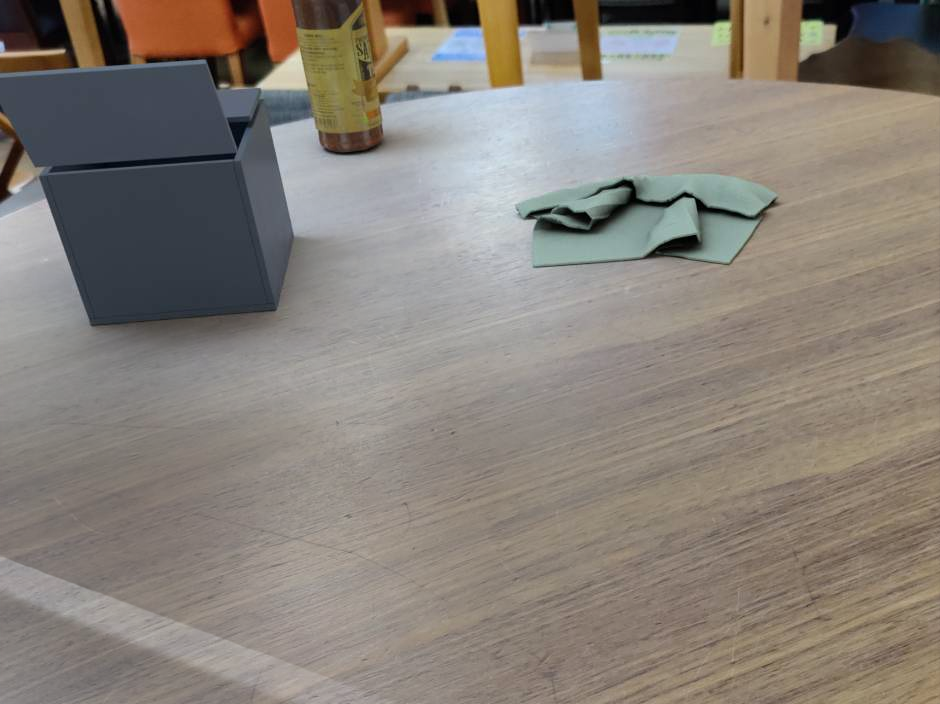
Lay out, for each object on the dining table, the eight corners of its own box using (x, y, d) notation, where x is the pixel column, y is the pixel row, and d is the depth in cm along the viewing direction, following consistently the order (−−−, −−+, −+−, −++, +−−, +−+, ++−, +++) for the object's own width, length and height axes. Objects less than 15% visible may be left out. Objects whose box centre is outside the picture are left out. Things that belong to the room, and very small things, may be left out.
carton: (276, 310, 86) (237, 148, 79) (90, 325, 85) (33, 163, 78) (294, 235, 97) (261, 87, 90) (129, 248, 96) (82, 99, 89)
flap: (237, 148, 79) (237, 153, 79) (35, 163, 78) (35, 168, 78) (205, 59, 73) (205, 63, 73) (-14, 74, 72) (-15, 78, 72)
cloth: (806, 194, 100) (808, 164, 99) (691, 298, 86) (691, 265, 84) (593, 162, 108) (591, 134, 106) (454, 252, 93) (450, 221, 92)
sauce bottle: (389, 150, 112) (349, -97, 99) (321, 158, 111) (272, -90, 98) (382, 129, 117) (343, -109, 104) (317, 137, 116) (269, -103, 103)
